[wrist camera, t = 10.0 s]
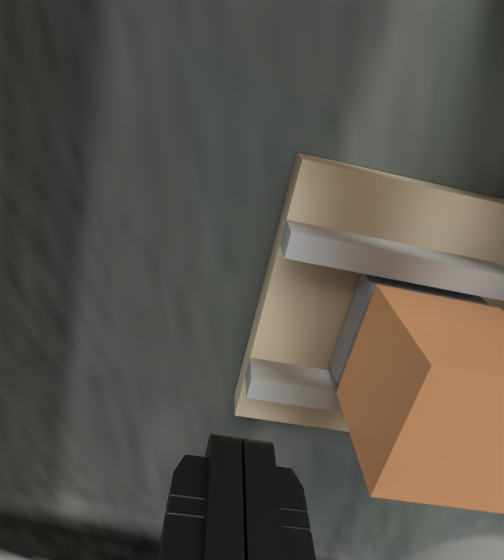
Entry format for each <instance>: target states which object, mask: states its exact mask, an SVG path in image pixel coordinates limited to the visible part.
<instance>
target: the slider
mask: <svg viewBox="0 0 504 560" xmlns="http://www.w3.org/2000/svg"><path fill="white" fill-rule="evenodd" d="M330 367H331V370H332V373H333V376H334V379H335V382H336V383H338V384H339V386H338V389H337V392H336V393H337V396H338V399H339V403H340V406H341V409H342V412H343V415H344V418H345V421H346V424H347V427H348V430H349V433H350V436H351V439H352V442H353V445H354V448H355V451H356V454H357V458H358V461H359V464H360V467H361V470H362V473H363V476H364V479H365V482H366V485H367V488H368V491H369V494H370V497H375V498H383V499H391V500H399V501H407V502H415V503H423V504H431V505H439V506H447V507H455V508H463V509H470V510H478V511H486V512H494V513H502V514H504V311H503V310H502V309H501V308H498V307H492V306H490V305H489V304H488V303H487V302H486V301H485V300H484V299H482V298H481V297H480V296H476V295H471V294H466V293H461V292H456V291H451V290H445V289H440V288H435V287H430V286H425V285H420V284H414V283H409V282H404V281H399V280H394V279H389V278H384V277H378V276H373V275H368V274H363V273H362V274H361V277H360V280H359V283H358V286H357V289H356V291H355V294H354V297H353V300H352V303H351V305H350V308H349V311H348V314H347V317H346V320H345V322H344V325H343V328H342V331H341V334H340V337H339V339H338V342H337V345H336V348H335V351H334V354H333V356H332V359H331V362H330Z"/></svg>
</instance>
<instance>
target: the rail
mask: <svg viewBox="0 0 504 560" xmlns="http://www.w3.org/2000/svg"><path fill="white" fill-rule="evenodd" d="M362 273H363V274H368V275H373V276H378V277H384V278H389V279H394V280H399V281H404V282H409V283H414V284H420V285H425V286H430V287H435V288H440V289H445V290H451V291H456V292H461V293H466V294H471V295H476V296H480V297H481V298H482V299H484V300H485V301H486V302H487V303H488V304H489V305H490V306H492V307H498V308H501V309H502V310H503V311H504V199H501V198H496V197H492V196H488V195H483V194H479V193H474V192H470V191H465V190H461V189H457V188H452V187H448V186H443V185H439V184H434V183H430V182H426V181H421V180H417V179H412V178H408V177H404V176H399V175H395V174H390V173H386V172H381V171H377V170H373V169H368V168H364V167H359V166H355V165H350V164H346V163H342V162H337V161H333V160H328V159H324V158H320V157H315V156H311V155H306V154H302V153H297V154H296V158H295V162H294V166H293V170H292V173H291V177H290V181H289V185H288V189H287V193H286V197H285V201H284V204H283V208H282V212H281V216H280V220H279V224H278V228H277V232H276V235H275V239H274V243H273V247H272V251H271V255H270V259H269V263H268V267H267V270H266V274H265V278H264V282H263V286H262V290H261V294H260V298H259V301H258V305H257V309H256V313H255V317H254V321H253V325H252V329H251V332H250V336H249V340H248V344H247V348H246V352H245V356H244V360H243V363H242V367H241V371H240V375H239V379H238V383H237V387H236V391H235V395H234V396H235V416H242V417H249V418H255V419H262V420H269V421H276V422H283V423H290V424H297V425H304V426H311V427H318V428H324V429H331V430H338V431H345V432H349V430H348V427H347V424H346V421H345V418H344V415H343V412H342V409H341V406H340V403H339V399H338V396H337V393H336V392H337V389H338V386H339V384H338V383H336V382H335V379H334V376H333V373H332V370H331V367H330V362H331V359H332V356H333V354H334V351H335V348H336V345H337V342H338V339H339V337H340V334H341V331H342V328H343V325H344V322H345V320H346V317H347V314H348V311H349V308H350V305H351V303H352V300H353V297H354V294H355V291H356V289H357V286H358V283H359V280H360V277H361V274H362Z"/></svg>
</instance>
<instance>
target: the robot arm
mask: <svg viewBox="0 0 504 560" xmlns="http://www.w3.org/2000/svg"><path fill="white" fill-rule="evenodd" d="M158 560H316V558H315V552H314V546H313V540H312V535H311V532H310V523H309V518H308V513H307V506H306V500H305V495H304V489H303V486H302V485H301V483H300V482H299V480H298V478H297V477H296V475H295V473H294V472H293V470H292V469H291V468H284V467H276V462H275V453H274V446H273V443H272V442H265V441H258V440H251V439H243V438H242V440H241V438H235V437H228V436H221V435H214V434H211V435H210V437H209V441H208V445H207V449H206V453H205V457H200V456H193V455H185V456H184V457H183V459H182V460H181V462H180V463H179V465H178V466H177V468H176V469H175V470H174V473H173V478H172V483H171V488H170V493H169V497H168V502H167V507H166V512H165V517H164V524H163V530H162V537H161V543H160V550H159V556H158Z"/></svg>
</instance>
